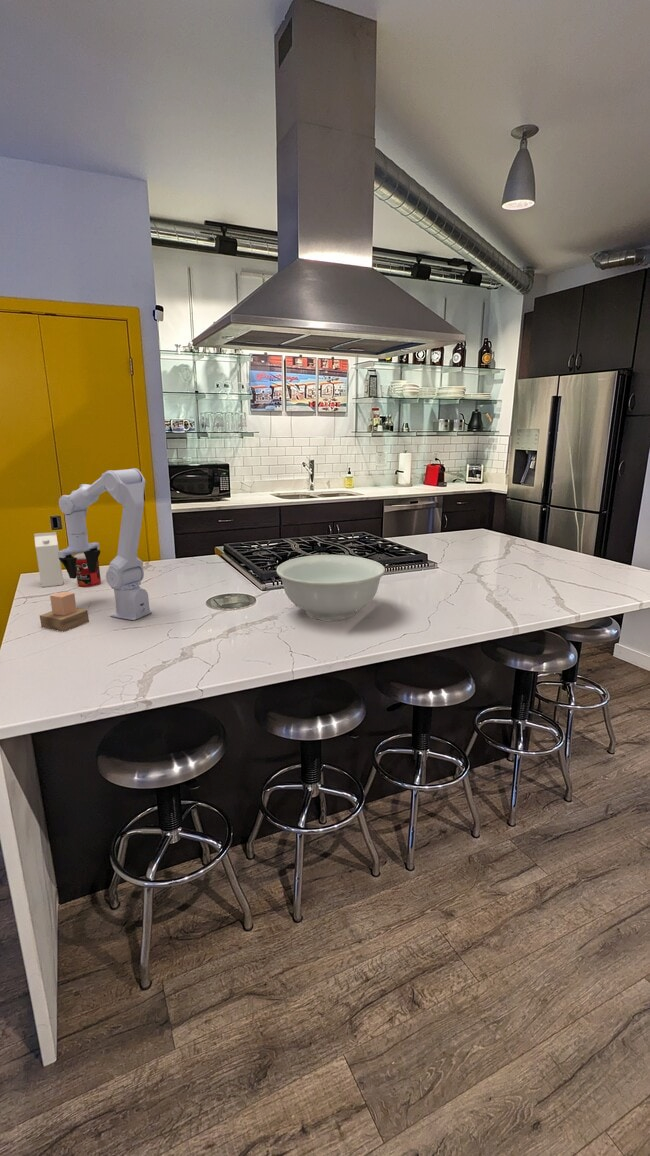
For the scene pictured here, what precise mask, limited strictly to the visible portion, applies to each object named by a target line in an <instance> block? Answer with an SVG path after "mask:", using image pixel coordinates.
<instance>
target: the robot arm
mask: <svg viewBox="0 0 650 1156" xmlns="http://www.w3.org/2000/svg"><path fill="white" fill-rule="evenodd" d="M145 486H146V479H145V476H143V473H142V472H141V471H140V470H139V469H138V468H135V467H134V468H133V467H131V468H129V469H117V470H113V469H112V470H111V469H110V470H106V471H105V472H103V473H101V476H100V477H99V478H98V479H96V480H95V481H94V482H93V483H92V484H86V483H81V484H79V488H78V489H76V490H72V491H71V493H70V494H69V495H67V494H63V495H61V496H60V497H59V499H58V506H59V510H60V511H61V513H63V514H64V520H65V527H66V535H67V540H68V541H67V542H68V543H67V544H68V546H67V548H63V549H61V550H59V551H58V557H59V560H60V561H61V565H63V566H64V569H65V570H66V572H67V574H68V576H69V579H73V580H74V579H77V576H76V560H77V558H75V557H74V556H75V555H77V554H82V553H84V555H85V557H86V560H87V565H88V570H89V572H92V573H95V570H96V564H97V560H98V561H99V557H100V555H101V547H100V543H99V542H95V541H94V542H89V537H88V529H87V522H86V518H87V515H88V514H87V512H88V508H89V507H90V506H91V505H92V504H94V503H96V502H97V501H99V497H100V495H101V494H103V493H105V492H106V491H107V493H109V495H110V496H111V497H112V498H113V499H114V500H115V501H116V502H117V503H118V504H120V505H122V514H121V521H120V530H119V536H118V537H119V538H118V545H117V553H116V556H115V557H114V558H113V559H112V560H111V561H110V562H109V566H108V569H107V570H106V574H105V579H106V582H107V584H108V586H109V587H110V588H111V589H113V593H114V602H115V610H116V612H113V613H111V614H110V617H112V618H113V617H114V618H118V619H124V620H128V621H136V620H138V619H141V618H143V617H145V616H148V615H149V614H152V613H153V611H152V610H150V609H151V608H150V602H149V601H150V600H149V594H148V591H147V590H146V589H144V588H142V587H141V585H142V584H141V583H142V581H143V579H144V576H145V572H144V562H143V561H142V560H141V559H140V558H139V557H138V553H139V552H138V550H139V543H140V536H141V531H142V522H143V521H142V520H143V514H144V507H145V499H144V495H145ZM73 555H74V556H73Z"/></svg>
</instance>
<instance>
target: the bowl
mask: <svg viewBox="0 0 650 1156" xmlns="http://www.w3.org/2000/svg"><path fill="white" fill-rule="evenodd" d="M385 572H386V568H385V566H384V565H383V564H381V563H380V562H378V561H375V560H372V559H371V558H370V559H369V558H364V557H359V556H354V555H343V554H316V555H308V556H307V555H306V556H305V555H304V556H300V557H299V556H298V557H295V558H291V559H288V560H286V561H284V562H282V563H280V564H279V565H277V568H276V574H277V575H278V577H279V578H281V581H282V582H281V583H282V586H283V589H284V592H285V595H286V596H287V598H288V599H289V600H290V602H291V603H292V604H293V605H295V606H296V607H298V608H300V609H302V610H304V611H305V614H306V615H307V617H309V618H311V617H312V618H311V619H314V620H317V619H319V620H318V621H323V620H339V621H343V620H342V619H344V620H348V619H350V618H352V617H354V616H355V614H356V613H357V610H360V609H362V608H364V607H366V606H367V605H369V604H370V603H371V602H372V601H373V599H374V597H375V596H376V594H377V592H378V588H379V585H380V581H381V578H382V577H383V576H384V575H385ZM347 618H348V619H347Z"/></svg>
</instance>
